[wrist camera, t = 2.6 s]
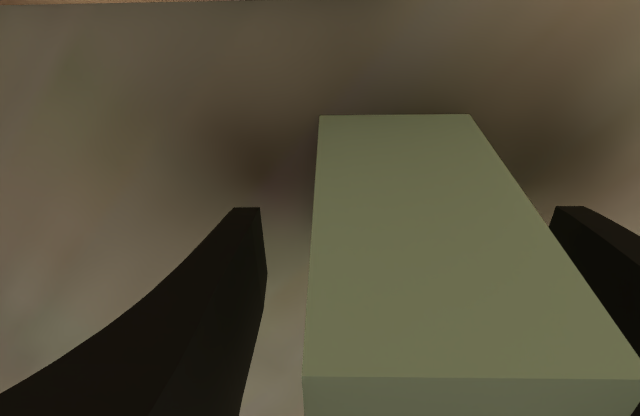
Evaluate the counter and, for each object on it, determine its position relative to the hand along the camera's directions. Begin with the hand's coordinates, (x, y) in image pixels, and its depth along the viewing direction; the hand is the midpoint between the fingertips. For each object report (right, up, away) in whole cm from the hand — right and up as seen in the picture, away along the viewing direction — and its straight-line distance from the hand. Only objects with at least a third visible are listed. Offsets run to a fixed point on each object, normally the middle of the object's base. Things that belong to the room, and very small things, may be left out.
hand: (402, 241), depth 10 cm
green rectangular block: (0, +2, +2) cm, 3 cm away
